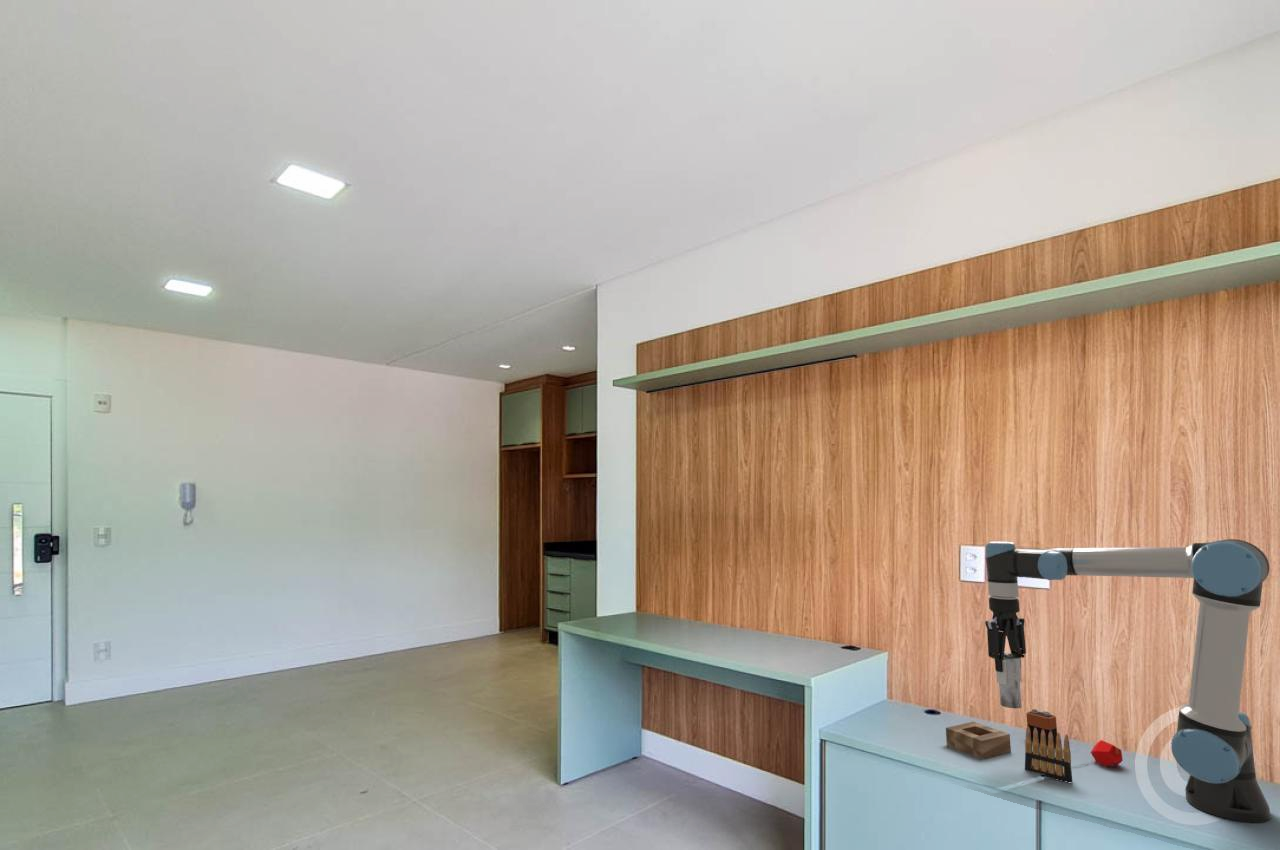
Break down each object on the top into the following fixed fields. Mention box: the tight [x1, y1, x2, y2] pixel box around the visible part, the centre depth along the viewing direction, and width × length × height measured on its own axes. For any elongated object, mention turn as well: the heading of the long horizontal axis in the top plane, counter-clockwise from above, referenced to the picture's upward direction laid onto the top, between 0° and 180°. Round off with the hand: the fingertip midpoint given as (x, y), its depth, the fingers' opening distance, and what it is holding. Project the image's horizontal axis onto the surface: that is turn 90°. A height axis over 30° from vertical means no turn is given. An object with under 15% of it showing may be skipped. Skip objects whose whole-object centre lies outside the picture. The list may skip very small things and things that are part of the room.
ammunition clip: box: [1024, 725, 1073, 783], centre depth 175 cm, size 11×2×12 cm, turn 52°
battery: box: [1025, 708, 1058, 748], centre depth 198 cm, size 4×7×10 cm, turn 33°
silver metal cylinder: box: [998, 652, 1023, 709], centre depth 183 cm, size 5×5×14 cm
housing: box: [945, 721, 1012, 760], centre depth 193 cm, size 12×12×6 cm
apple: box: [1090, 739, 1124, 767], centre depth 183 cm, size 7×7×8 cm
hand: (1009, 682), depth 183 cm, fingers closed on silver metal cylinder, 5 cm apart
